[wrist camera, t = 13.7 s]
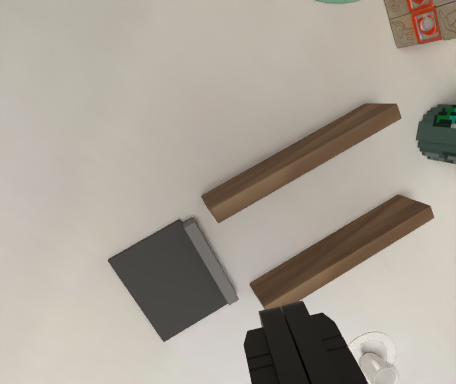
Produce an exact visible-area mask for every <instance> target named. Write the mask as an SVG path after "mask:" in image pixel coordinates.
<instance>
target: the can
mask: <svg viewBox="0 0 456 384" xmlns="http://www.w3.org/2000/svg"><path fill="white" fill-rule="evenodd" d="M416 140H419V142H418V147H419V148H420V151H423V153H422V155H426V156H428V158H427V159H432V160H437V161H442V162H448V163H453V164H456V105H438V107H437V108H431V111H427V115H424V116H423V121H422V122H419V126H418V132H417V137H416Z"/></svg>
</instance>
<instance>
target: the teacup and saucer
mask: <svg viewBox="0 0 456 384" xmlns="http://www.w3.org/2000/svg"><path fill="white" fill-rule="evenodd" d="M368 340H378V341H380V342H382V343H383V344H384V345H385V347H386V349H387V359H386V362H385V361H384V360H383V359H381V358H380V357H379V356H377V355H375V354H373V353H366V354H364V355H363V356H362V357H361V359H360V365H361V368H362V370H363V372H364V374H365V375H366V376H367V378H366V380H367V382H368V384H398V381H399V375H398V372H397V370H396V369H395V368H394V367H393V364H394V361H395V357H396V348H395V345H394V342H393V341H392V339H391V338H390V337H389V336H388V335H386V334H384V333H381V332H370V333H366V334H363V335H361V336H359V337H358V338H356V339H355V340H354V341H352V342H351V343H350V345H349V346H348V348H349V349H350V351H351V353H352V351H353V350H354V349H355V348H356V347H357V346H358V345H359V344H361V343H363V342H365V341H368Z"/></svg>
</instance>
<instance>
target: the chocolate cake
mask: <svg viewBox="0 0 456 384" xmlns="http://www.w3.org/2000/svg"><path fill="white" fill-rule="evenodd" d="M318 1H323V2H330V3H347V2H353V1H358V0H318Z"/></svg>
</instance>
